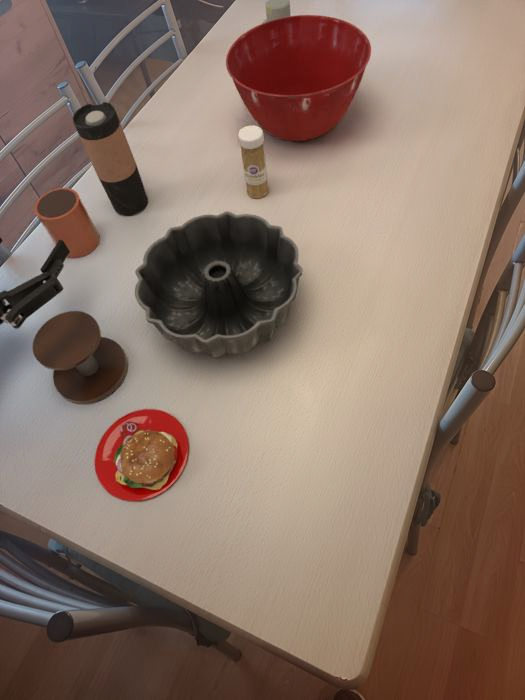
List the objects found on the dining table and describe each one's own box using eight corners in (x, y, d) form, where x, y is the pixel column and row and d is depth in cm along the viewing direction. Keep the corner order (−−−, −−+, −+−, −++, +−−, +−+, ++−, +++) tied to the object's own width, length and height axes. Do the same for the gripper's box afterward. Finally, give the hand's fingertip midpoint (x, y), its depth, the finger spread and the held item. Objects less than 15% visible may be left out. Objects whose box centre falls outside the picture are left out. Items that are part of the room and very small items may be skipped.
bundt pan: (202, 234, 96) (190, 193, 87) (328, 276, 87) (329, 235, 79) (122, 340, 85) (100, 305, 76) (258, 399, 76) (250, 367, 68)
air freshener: (268, 58, 126) (264, 15, 117) (254, 44, 130) (250, 1, 121) (306, 45, 127) (305, 1, 119) (292, 31, 132) (290, -12, 123)
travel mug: (128, 222, 100) (89, 133, 83) (105, 206, 103) (63, 117, 86) (157, 201, 102) (124, 110, 85) (133, 186, 105) (97, 95, 88)
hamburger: (198, 415, 76) (190, 398, 71) (175, 508, 69) (164, 496, 64) (113, 405, 78) (98, 388, 73) (82, 494, 71) (63, 481, 66)
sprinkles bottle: (248, 201, 99) (239, 142, 88) (245, 186, 102) (235, 127, 90) (271, 196, 99) (265, 137, 88) (267, 181, 102) (260, 122, 90)
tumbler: (51, 254, 97) (25, 216, 88) (71, 224, 101) (48, 185, 92) (88, 261, 95) (65, 222, 87) (106, 230, 99) (86, 190, 90)
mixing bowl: (385, 145, 104) (394, 71, 91) (253, 178, 103) (243, 108, 90) (340, 74, 119) (343, 2, 106) (225, 102, 118) (213, 33, 105)
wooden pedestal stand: (43, 395, 80) (10, 364, 72) (77, 334, 86) (50, 299, 78) (108, 411, 78) (82, 381, 69) (139, 347, 83) (118, 312, 75)
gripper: (17, 345, 69) (85, 234, 79) (-124, 314, 75) (-44, 214, 85) (42, 371, 75) (102, 265, 86) (-90, 341, 81) (-18, 245, 91)
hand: (30, 240), depth 85 cm, fingers open, 13 cm apart
